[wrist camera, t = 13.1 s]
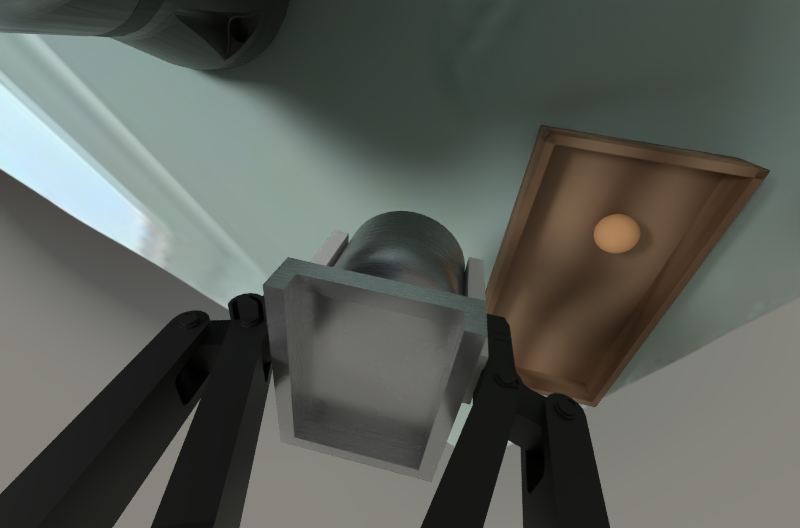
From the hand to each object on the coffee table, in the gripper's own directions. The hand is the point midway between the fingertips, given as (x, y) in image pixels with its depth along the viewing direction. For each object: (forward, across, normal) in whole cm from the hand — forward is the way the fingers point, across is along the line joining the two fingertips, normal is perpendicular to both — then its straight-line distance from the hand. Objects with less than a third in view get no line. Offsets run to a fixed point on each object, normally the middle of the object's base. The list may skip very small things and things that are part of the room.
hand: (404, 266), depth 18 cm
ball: (+9, +14, +1) cm, 17 cm away
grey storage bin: (0, 0, 0) cm, 0 cm away
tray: (+13, +14, -6) cm, 20 cm away
